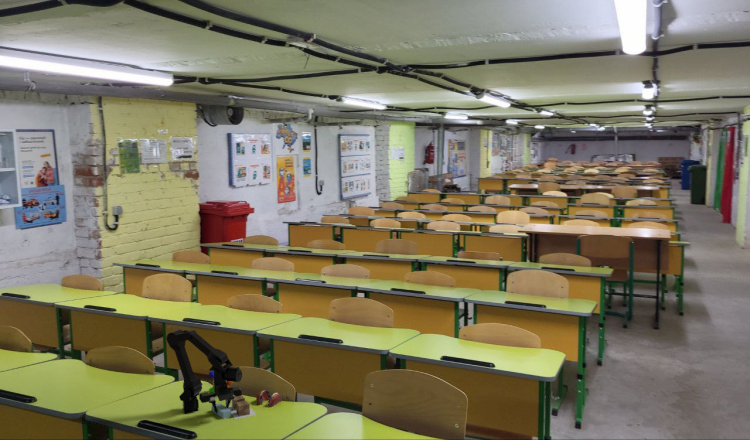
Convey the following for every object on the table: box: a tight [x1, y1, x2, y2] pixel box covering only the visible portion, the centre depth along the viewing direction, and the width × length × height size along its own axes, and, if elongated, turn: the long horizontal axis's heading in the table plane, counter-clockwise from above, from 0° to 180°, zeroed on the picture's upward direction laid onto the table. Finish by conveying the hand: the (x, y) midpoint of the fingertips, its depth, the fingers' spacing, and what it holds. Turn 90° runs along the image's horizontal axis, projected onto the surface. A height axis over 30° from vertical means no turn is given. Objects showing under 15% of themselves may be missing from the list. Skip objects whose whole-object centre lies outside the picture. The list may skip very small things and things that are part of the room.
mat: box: [228, 404, 257, 420], centre depth 281 cm, size 10×17×1 cm, turn 28°
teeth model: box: [256, 389, 283, 408], centre depth 290 cm, size 8×6×12 cm
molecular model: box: [208, 371, 234, 394], centre depth 304 cm, size 12×7×12 cm, turn 64°
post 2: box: [236, 399, 251, 417], centre depth 277 cm, size 5×5×5 cm
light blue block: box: [211, 402, 232, 420], centre depth 278 cm, size 12×4×4 cm, turn 41°
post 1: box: [231, 394, 246, 410], centre depth 284 cm, size 5×5×5 cm
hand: (221, 412), depth 278 cm, fingers closed on light blue block, 4 cm apart
